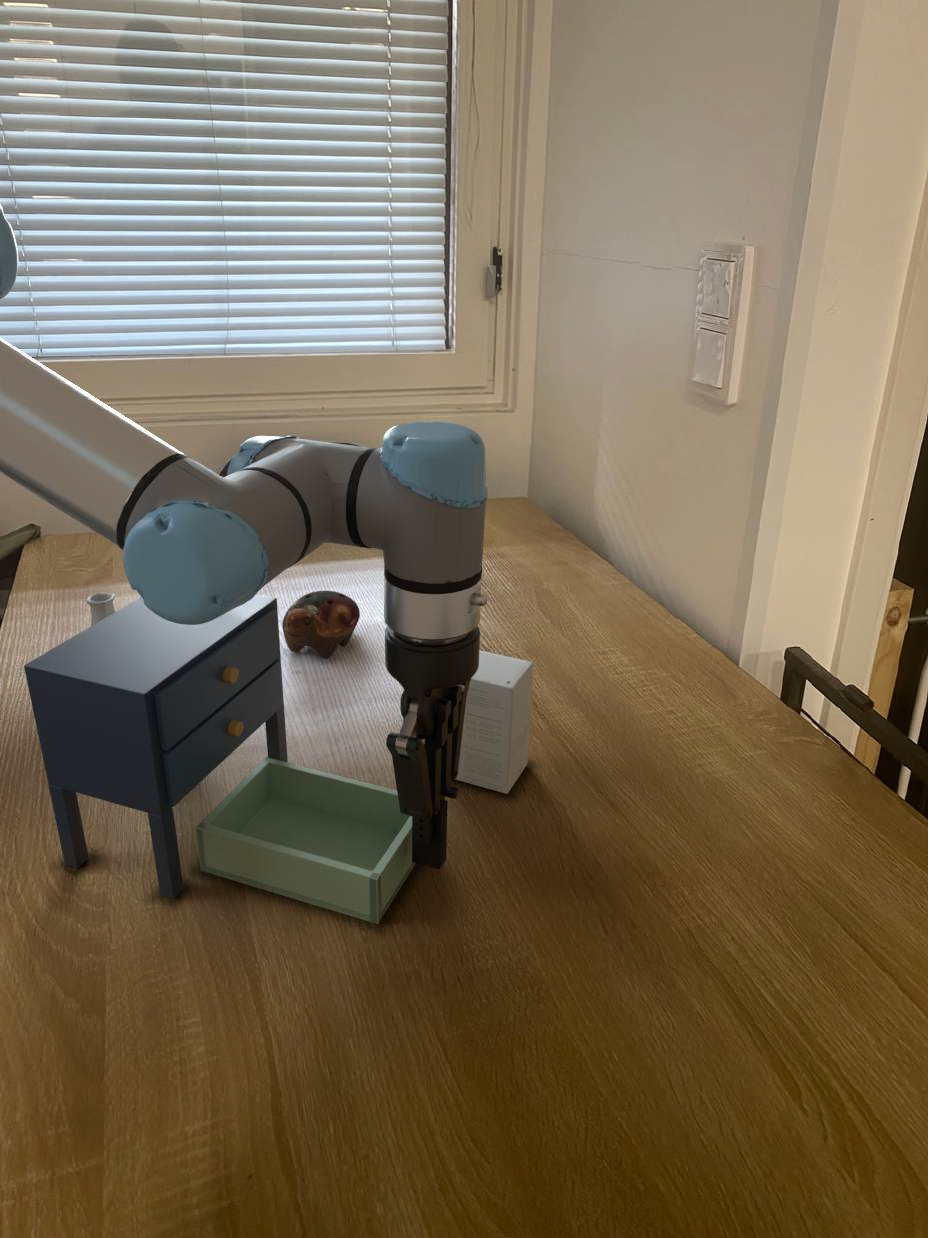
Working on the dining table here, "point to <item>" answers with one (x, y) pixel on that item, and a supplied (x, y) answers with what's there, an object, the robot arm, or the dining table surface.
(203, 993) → the dining table surface
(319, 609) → the brown ceramic figurine
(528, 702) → the small box
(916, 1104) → the dining table surface
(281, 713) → the drawer cabinet
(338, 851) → the storage tub
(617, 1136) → the dining table surface
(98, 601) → the flask
